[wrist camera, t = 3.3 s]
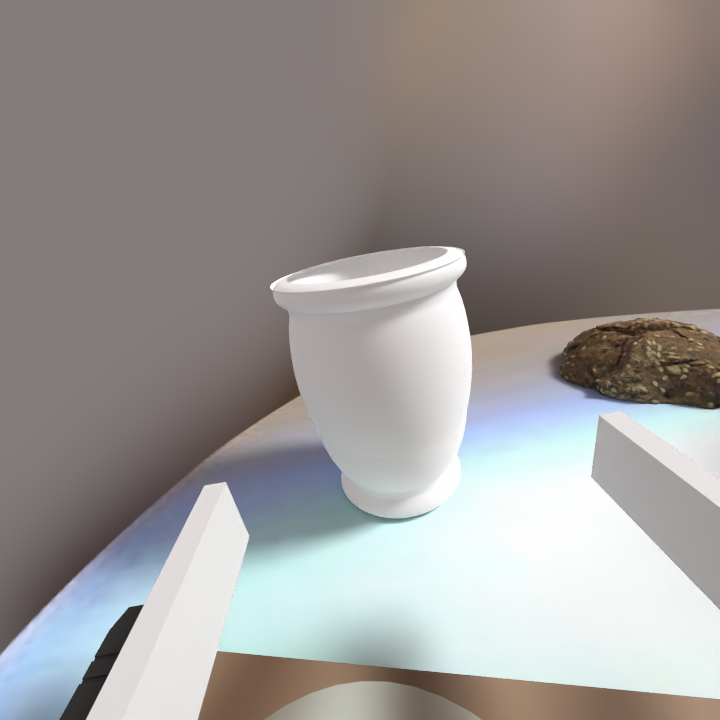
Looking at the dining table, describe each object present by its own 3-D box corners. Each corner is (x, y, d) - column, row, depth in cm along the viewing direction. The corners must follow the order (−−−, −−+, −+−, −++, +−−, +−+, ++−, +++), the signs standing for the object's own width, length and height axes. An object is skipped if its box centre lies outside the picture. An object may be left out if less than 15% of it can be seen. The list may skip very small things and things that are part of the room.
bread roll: (700, 345, 33) (712, 297, 31) (779, 416, 23) (803, 351, 21) (552, 346, 39) (555, 305, 37) (564, 404, 29) (569, 351, 27)
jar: (328, 553, 20) (250, 303, 14) (328, 443, 29) (282, 268, 23) (506, 516, 20) (505, 253, 14) (448, 419, 29) (433, 239, 23)
